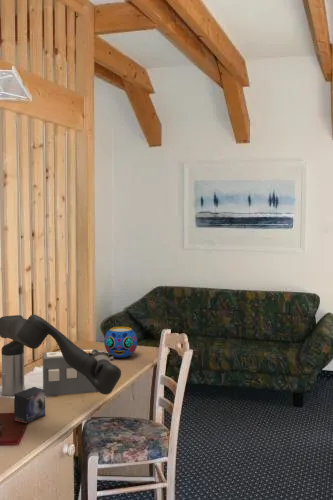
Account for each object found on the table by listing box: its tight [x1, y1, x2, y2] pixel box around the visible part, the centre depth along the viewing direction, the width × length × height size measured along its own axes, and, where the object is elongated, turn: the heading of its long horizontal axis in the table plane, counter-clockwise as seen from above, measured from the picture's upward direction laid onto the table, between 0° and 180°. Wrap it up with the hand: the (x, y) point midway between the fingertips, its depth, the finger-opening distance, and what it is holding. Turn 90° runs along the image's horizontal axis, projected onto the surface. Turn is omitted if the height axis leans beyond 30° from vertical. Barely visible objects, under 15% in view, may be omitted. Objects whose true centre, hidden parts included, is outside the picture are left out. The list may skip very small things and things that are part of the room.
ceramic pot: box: [103, 326, 138, 359], centre depth 300 cm, size 18×18×15 cm
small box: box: [13, 386, 46, 424], centre depth 214 cm, size 11×6×10 cm, turn 148°
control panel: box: [42, 349, 98, 397], centre depth 246 cm, size 23×10×17 cm, turn 105°
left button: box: [48, 368, 59, 381], centre depth 239 cm, size 4×3×4 cm
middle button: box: [66, 367, 77, 379], centre depth 242 cm, size 4×3×4 cm
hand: (94, 352), depth 230 cm, fingers closed
